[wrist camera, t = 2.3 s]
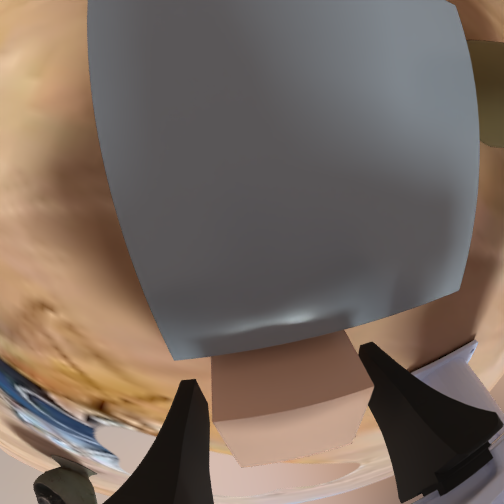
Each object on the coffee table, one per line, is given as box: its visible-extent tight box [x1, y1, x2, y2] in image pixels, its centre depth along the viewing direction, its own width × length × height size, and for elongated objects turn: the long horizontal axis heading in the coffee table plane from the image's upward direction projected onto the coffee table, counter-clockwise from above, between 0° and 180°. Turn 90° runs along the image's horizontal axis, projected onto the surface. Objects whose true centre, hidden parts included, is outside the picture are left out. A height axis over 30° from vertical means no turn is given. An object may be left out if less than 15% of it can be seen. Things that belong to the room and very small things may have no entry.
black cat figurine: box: [33, 455, 97, 504], centre depth 16 cm, size 10×12×10 cm
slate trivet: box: [87, 0, 480, 361], centre depth 7 cm, size 11×11×3 cm
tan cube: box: [211, 330, 374, 468], centre depth 10 cm, size 5×5×5 cm
